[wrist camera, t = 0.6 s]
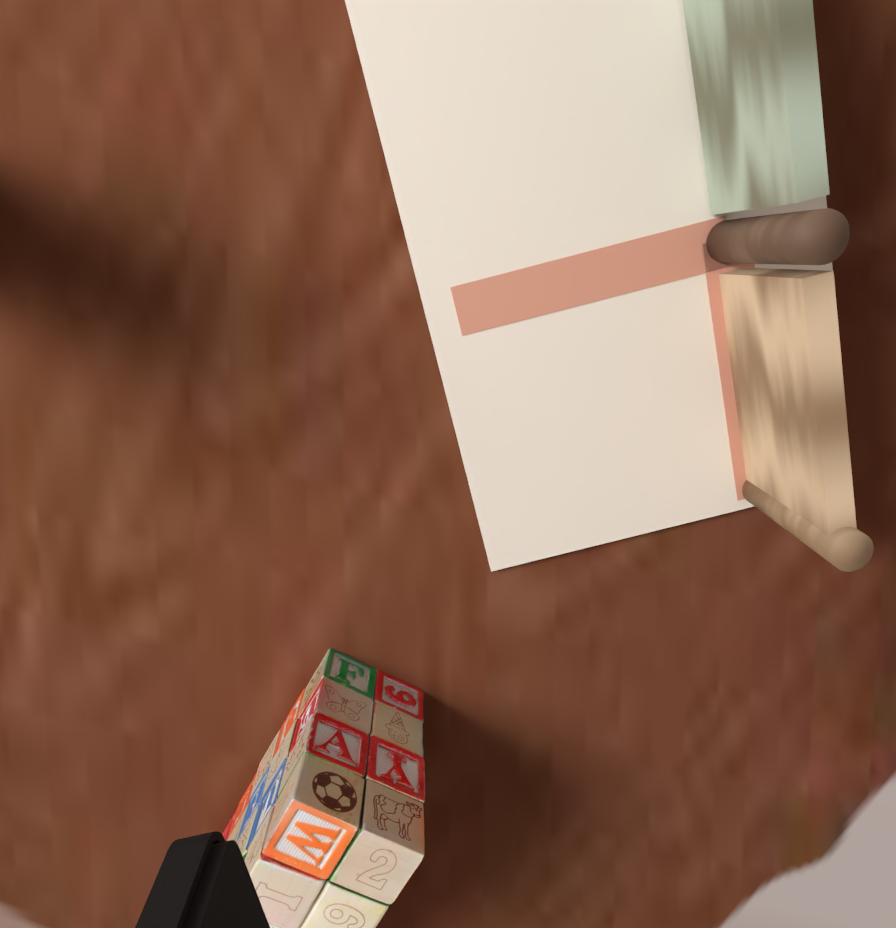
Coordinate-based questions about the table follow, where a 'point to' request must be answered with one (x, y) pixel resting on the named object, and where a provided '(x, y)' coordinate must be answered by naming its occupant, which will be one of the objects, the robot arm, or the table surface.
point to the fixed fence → (791, 376)
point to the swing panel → (758, 101)
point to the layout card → (563, 259)
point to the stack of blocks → (337, 801)
